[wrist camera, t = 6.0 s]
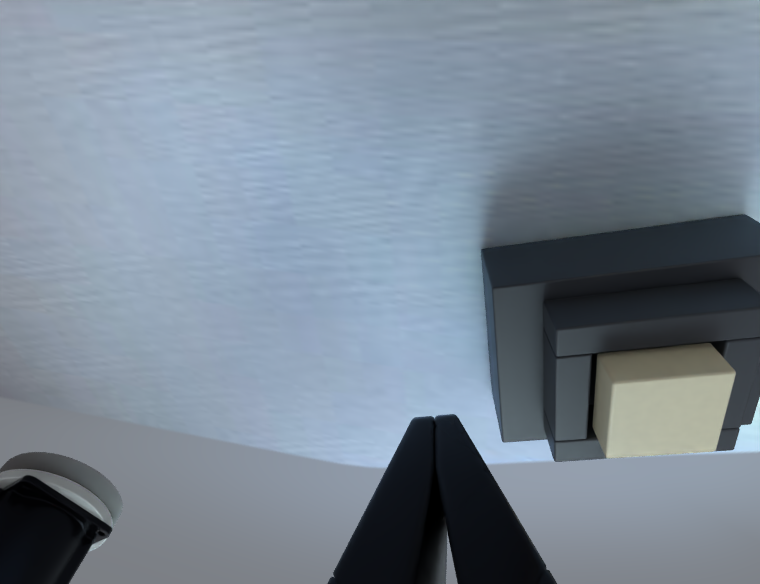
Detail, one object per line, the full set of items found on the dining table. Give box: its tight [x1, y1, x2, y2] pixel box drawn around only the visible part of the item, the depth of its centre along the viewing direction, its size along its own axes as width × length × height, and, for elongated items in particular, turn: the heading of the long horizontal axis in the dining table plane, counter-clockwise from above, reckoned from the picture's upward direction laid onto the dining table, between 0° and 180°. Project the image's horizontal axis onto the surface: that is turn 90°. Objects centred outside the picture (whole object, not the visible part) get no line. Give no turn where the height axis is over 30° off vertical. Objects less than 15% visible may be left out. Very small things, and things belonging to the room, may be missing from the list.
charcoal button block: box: [481, 215, 760, 462], centre depth 18 cm, size 10×8×5 cm
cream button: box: [592, 343, 736, 459], centre depth 16 cm, size 4×4×2 cm
